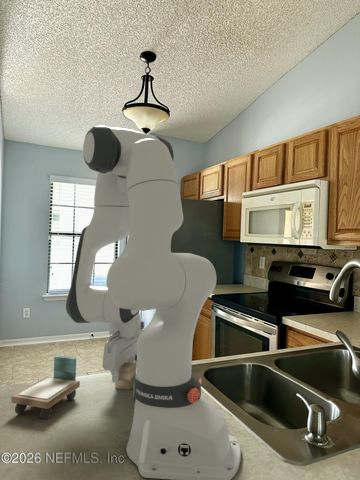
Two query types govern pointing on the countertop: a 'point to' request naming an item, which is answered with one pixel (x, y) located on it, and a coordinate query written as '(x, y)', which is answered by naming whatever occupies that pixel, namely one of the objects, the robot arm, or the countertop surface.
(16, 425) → the countertop surface
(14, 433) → the countertop surface
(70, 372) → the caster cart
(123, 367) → the maple block
